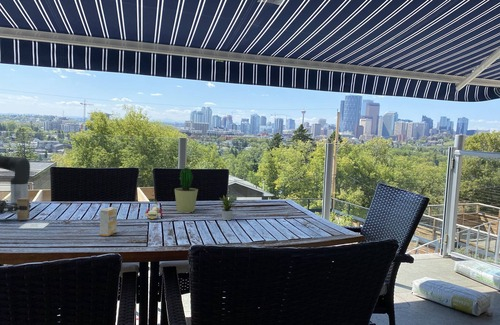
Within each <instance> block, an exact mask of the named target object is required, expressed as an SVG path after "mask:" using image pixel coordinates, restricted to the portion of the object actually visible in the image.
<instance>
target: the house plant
mask: <svg viewBox="0 0 500 325" xmlns="http://www.w3.org/2000/svg"><path fill="white" fill-rule="evenodd" d="M222 196H223V197H222V198H221V197H220V196H219V200H221V202H222V203H220V202H217V204H218V205H220V206H222V209H221V217H222V221H223V220H231V221H232V217H233V209H232V208H233V207H235V206H237V204H238V203H234V202H236V201H237V202H238V201H239V200H238V199H237V197H236V198H234V195H232V194H231V195H230V196H229V197H228V194H227V193H226V195H224V194H223V195H222ZM225 196H226V197H225Z"/></svg>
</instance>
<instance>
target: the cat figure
mask: <svg viewBox="0 0 500 325" xmlns="http://www.w3.org/2000/svg"><path fill="white" fill-rule="evenodd" d="M154 202H155V203H154V206H153V207H149V208H147V209H146V211H145V213H144V217H147V219H150V220H154V219H158V218H159V217H161V215H162V214H163V212H162V209H160V207H158V200H155V201H154ZM150 209H151V210H150Z"/></svg>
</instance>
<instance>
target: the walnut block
mask: <svg viewBox="0 0 500 325" xmlns="http://www.w3.org/2000/svg"><path fill="white" fill-rule="evenodd" d="M29 204H30V197H28V198H19V199H17V206H19V207H20V206H27V210H19V211H17V213H16V216H17V217H16V220H28V219H30V208H29Z"/></svg>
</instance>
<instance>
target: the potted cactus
mask: <svg viewBox="0 0 500 325" xmlns="http://www.w3.org/2000/svg"><path fill="white" fill-rule="evenodd" d="M180 170H181V171H180V172H179V176H180V177H179V178H178V179H179V180H180V183H179V185H180V186H181V187H177V188H176V187H175V188H174V195H175V204H176V212H177V211H178V212H177V213H180V212H192V213H194V212H195V209H196V204H197V198H198V197H197V196H198V192H199V189H198V188H193V187H191V186H192V182H193V179H194V177H193V173H192V172H191V169H190V167H183V168H181V169H180ZM193 211H194V212H193Z"/></svg>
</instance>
